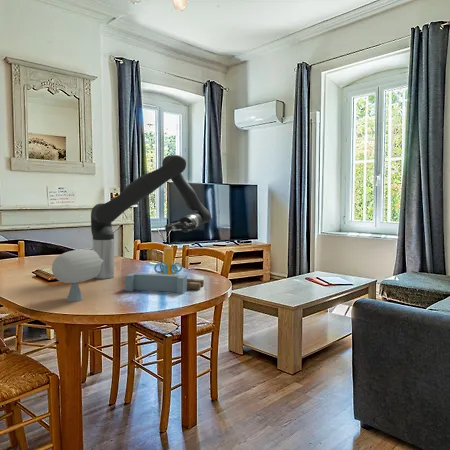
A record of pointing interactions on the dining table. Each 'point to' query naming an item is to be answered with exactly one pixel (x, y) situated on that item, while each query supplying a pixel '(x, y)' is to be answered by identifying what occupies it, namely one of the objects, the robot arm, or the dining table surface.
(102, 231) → the robot arm
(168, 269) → the yellow block with rings
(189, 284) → the roller
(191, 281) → the roller
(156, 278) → the stop rail
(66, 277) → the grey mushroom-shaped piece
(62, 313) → the dining table surface
